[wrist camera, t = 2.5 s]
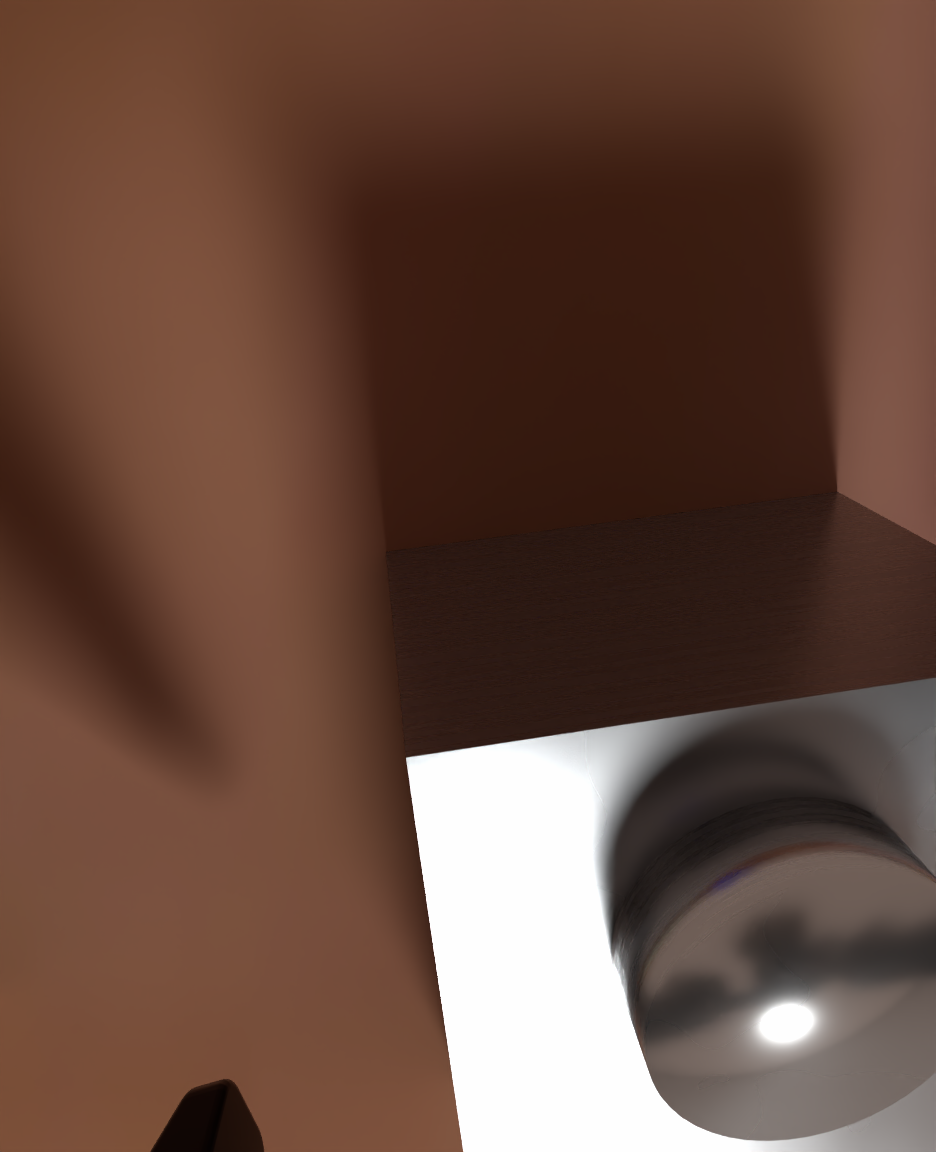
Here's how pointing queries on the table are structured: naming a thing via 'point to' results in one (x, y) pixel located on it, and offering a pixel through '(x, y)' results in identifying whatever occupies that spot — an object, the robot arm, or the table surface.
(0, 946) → the table surface
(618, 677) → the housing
